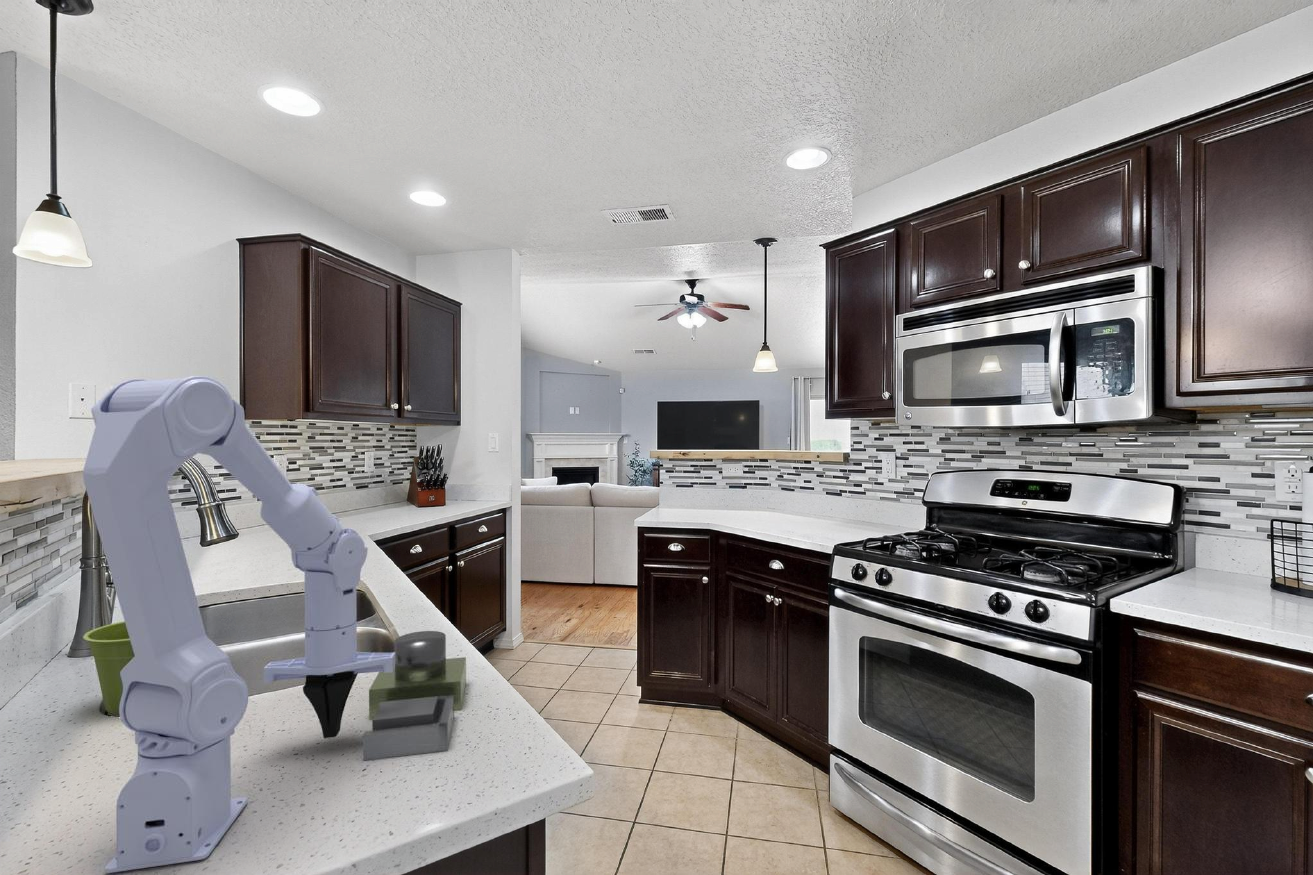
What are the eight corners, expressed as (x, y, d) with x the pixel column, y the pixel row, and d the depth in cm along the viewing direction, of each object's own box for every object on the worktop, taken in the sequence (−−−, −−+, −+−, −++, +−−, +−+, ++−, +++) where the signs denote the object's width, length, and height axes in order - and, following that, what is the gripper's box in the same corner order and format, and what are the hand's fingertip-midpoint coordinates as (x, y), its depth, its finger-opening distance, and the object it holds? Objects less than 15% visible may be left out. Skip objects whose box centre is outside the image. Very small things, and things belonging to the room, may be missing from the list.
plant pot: (64, 728, 83) (64, 644, 83) (109, 694, 94) (109, 620, 94) (170, 715, 87) (170, 634, 87) (201, 684, 98) (201, 612, 98)
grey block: (433, 745, 78) (432, 713, 78) (372, 752, 76) (372, 720, 76) (438, 726, 83) (437, 696, 83) (381, 732, 81) (381, 701, 81)
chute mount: (453, 749, 76) (452, 676, 76) (347, 762, 73) (346, 685, 73) (466, 682, 97) (465, 625, 97) (383, 690, 94) (383, 631, 95)
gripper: (399, 611, 83) (400, 713, 83) (278, 619, 80) (279, 726, 80) (388, 626, 76) (389, 738, 76) (256, 636, 73) (256, 752, 73)
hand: (331, 733), depth 77 cm, fingers closed
